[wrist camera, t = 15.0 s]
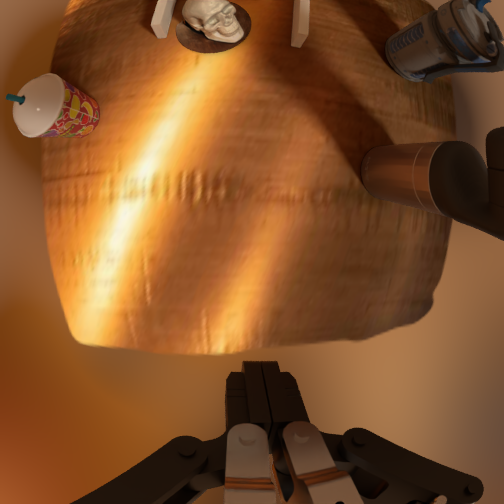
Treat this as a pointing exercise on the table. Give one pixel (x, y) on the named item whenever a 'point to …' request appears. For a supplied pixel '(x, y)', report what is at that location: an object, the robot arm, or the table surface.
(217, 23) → the skull
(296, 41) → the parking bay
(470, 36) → the beverage bottle
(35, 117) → the smoothie
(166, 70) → the table surface
